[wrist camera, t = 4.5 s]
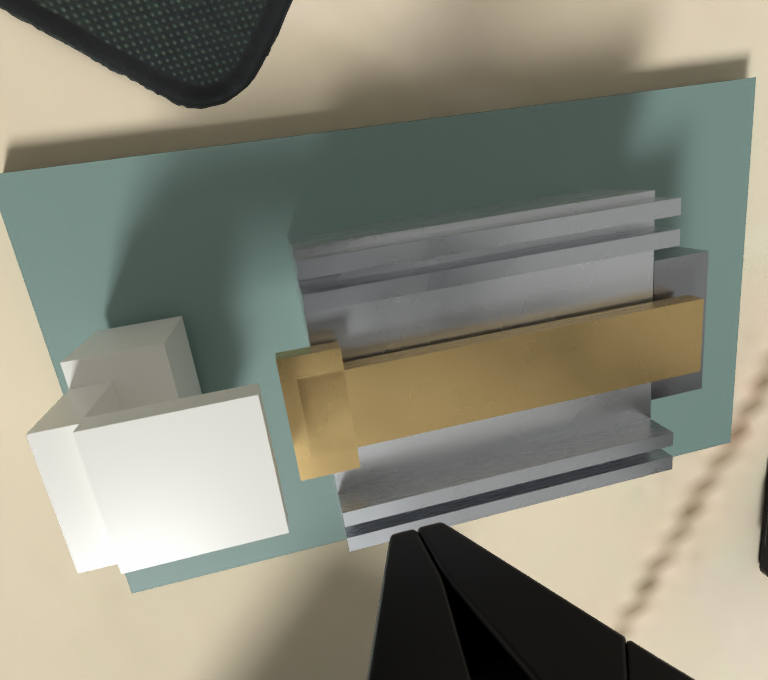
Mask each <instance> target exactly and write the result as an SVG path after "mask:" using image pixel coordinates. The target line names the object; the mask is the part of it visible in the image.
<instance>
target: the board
mask: <svg viewBox="0 0 768 680" xmlns="http://www.w3.org/2000/svg"><path fill="white" fill-rule="evenodd" d="M755 83H756V77H754V78H746V79H739V80H731V81H723V82H715V83H707V84H699V85H691V86H684V87H676V88H668V89H660V90H652V91H644V92H636V93H629V94H621V95H613V96H605V97H597V98H589V99H581V100H574V101H566V102H558V103H550V104H542V105H534V106H526V107H519V108H511V109H503V110H495V111H487V112H479V113H471V114H464V115H456V116H448V117H440V118H432V119H424V120H416V121H409V122H401V123H393V124H385V125H377V126H369V127H361V128H354V129H346V130H338V131H330V132H322V133H314V134H306V135H299V136H291V137H283V138H275V139H267V140H259V141H252V142H244V143H236V144H228V145H220V146H212V147H204V148H197V149H189V150H181V151H173V152H165V153H157V154H149V155H142V156H134V157H126V158H118V159H110V160H102V161H94V162H87V163H79V164H71V165H63V166H55V167H47V168H39V169H32V170H24V171H16V172H8V173H0V212H1V215H2V218H3V220H4V223H5V226H6V229H7V232H8V235H9V238H10V241H11V244H12V247H13V250H14V252H15V255H16V258H17V261H18V264H19V267H20V270H21V273H22V276H23V279H24V282H25V284H26V287H27V290H28V293H29V296H30V299H31V302H32V305H33V308H34V311H35V314H36V316H37V319H38V322H39V325H40V328H41V331H42V334H43V337H44V340H45V343H46V345H47V348H48V351H49V354H50V357H51V360H52V363H53V366H54V369H55V372H56V375H57V377H58V380H59V383H60V386H61V389H62V392H63V395H64V394H65V393H66V392H67V391H68V390H69V388H68V385H67V382H66V379H65V376H64V373H63V370H62V367H61V364H60V362H61V361H63V360H64V359H65V358H66V357H67V356H68V355H70V354H71V353H72V352H73V351H74V350H75V349H77V348H78V347H79V346H80V345H81V344H82V343H84V342H85V341H86V340H87V339H88V338H89V337H90V336H92V335H93V334H94V333H95V332H96V331H99V330H104V329H110V328H116V327H121V326H127V325H133V324H139V323H144V322H150V321H156V320H161V319H167V318H173V317H178V316H182V318H183V322H184V326H185V330H186V334H187V338H188V342H189V346H190V349H191V353H192V357H193V361H194V365H195V369H196V373H197V377H198V380H199V384H200V388H201V392H202V394H206V393H211V392H216V391H221V390H226V389H231V388H236V387H241V386H246V385H251V384H256V383H259V387H260V391H261V396H262V400H263V405H264V410H265V414H266V419H267V423H268V428H269V432H270V437H271V441H272V446H273V450H274V455H275V459H276V464H277V468H278V473H279V477H280V482H281V486H282V491H283V495H284V500H285V504H286V509H287V513H288V525H289V533H286V534H282V535H278V536H274V537H270V538H266V539H262V540H258V541H254V542H250V543H246V544H242V545H237V546H233V547H229V548H225V549H221V550H217V551H213V552H209V553H205V554H201V555H197V556H193V557H189V558H185V559H181V560H177V561H173V562H168V563H164V564H160V565H156V566H152V567H148V568H144V569H140V570H136V571H132V572H128V573H125V575H126V578H127V581H128V584H129V587H130V590H131V593H136V592H140V591H144V590H148V589H152V588H156V587H160V586H164V585H168V584H171V583H175V582H179V581H183V580H187V579H191V578H195V577H199V576H203V575H207V574H211V573H215V572H219V571H223V570H227V569H231V568H235V567H239V566H243V565H247V564H251V563H255V562H259V561H262V560H266V559H270V558H274V557H278V556H282V555H286V554H290V553H294V552H298V551H302V550H306V549H310V548H314V547H318V546H322V545H326V544H330V543H334V542H338V541H342V540H346V539H347V538H346V535H345V531H344V526H343V522H342V518H341V513H340V509H339V505H338V500H337V496H336V491H335V487H334V483H333V478H332V474H330V475H326V476H321V477H317V478H313V479H308V480H304V481H301V479H300V474H299V469H298V465H297V460H296V455H295V450H294V445H293V441H292V436H291V431H290V426H289V421H288V416H287V412H286V407H285V402H284V397H283V392H282V388H281V383H280V378H279V373H278V368H277V364H276V353H278V352H283V351H289V350H294V349H299V348H305V347H308V346H307V341H306V335H305V330H304V324H303V319H302V314H301V308H300V303H299V298H298V292H297V287H296V282H295V276H294V271H293V266H292V260H291V255H290V250H289V244H288V239H287V236H290V235H296V234H303V233H309V232H315V231H322V230H328V229H334V228H341V227H347V226H354V225H360V224H366V223H373V222H379V221H385V220H392V219H398V218H405V217H411V216H417V215H424V214H430V213H436V212H443V211H449V210H455V209H462V208H468V207H475V206H481V205H487V204H494V203H500V202H506V201H513V200H519V199H525V198H532V197H538V196H545V195H551V194H557V193H564V192H570V191H576V190H583V189H597V190H655V197H676V198H681V215H678V216H672V217H666V218H660V219H654V226H658V227H667V228H677V229H680V246H678V247H685V248H692V249H699V250H705V251H709V256H708V276H707V296H706V316H705V335H704V355H703V375H702V388H701V389H697V390H693V391H689V392H684V393H680V394H676V395H671V396H667V397H663V398H658V399H654V400H651V419H652V420H654V421H655V422H657V423H658V424H660V425H662V426H663V427H665V428H667V429H668V430H670V431H672V432H673V446H670V447H665V448H661V449H662V450H664V451H665V452H667V453H668V454H670V455H671V456H673V457H674V456H678V455H682V454H686V453H690V452H694V451H698V450H702V449H706V448H710V447H714V446H717V445H721V444H725V443H729V442H730V438H731V424H732V410H733V396H734V382H735V367H736V353H737V339H738V325H739V310H740V296H741V282H742V268H743V254H744V239H745V225H746V211H747V197H748V183H749V168H750V154H751V140H752V126H753V112H754V97H755Z"/></svg>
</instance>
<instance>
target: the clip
mask: <svg viewBox="0 0 768 680" xmlns="http://www.w3.org/2000/svg"><path fill="white" fill-rule="evenodd" d="M60 364H61V367H62V370H63V373H64V376H65V379H66V382H67V385H68V388H69V390H68V391H67V392H66V393H65V394H64V395H63V396H62V398H61V399H60V400H59V401H58V402H57V403H56V404H55V405H54V406H53V407H52V408H51V409H50V410H49V411H48V412H47V413H46V414H45V415H44V416H43V417H42V418H41V419H40V420H39V421H38V422H37V423H36V425H35V426H34V427H33V428H32V429H31V430H30V431H29V432H28V433H27V434H26V437H27V439H28V442H29V445H30V447H31V450H32V453H33V455H34V458H35V461H36V463H37V466H38V468H39V471H40V474H41V476H42V479H43V482H44V484H45V487H46V490H47V492H48V495H49V498H50V500H51V503H52V506H53V508H54V511H55V514H56V516H57V519H58V522H59V524H60V527H61V530H62V532H63V535H64V538H65V540H66V543H67V546H68V548H69V551H70V553H71V556H72V559H73V561H74V564H75V567H76V569H77V572H78V573H82V572H86V571H90V570H94V569H98V568H102V567H106V566H111V565H115V564H118V566H119V569H120V572H121V574H124V573H128V572H132V571H136V570H140V569H144V568H148V567H152V566H156V565H160V564H164V563H168V562H173V561H177V560H181V559H185V558H189V557H193V556H197V555H201V554H205V553H209V552H213V551H217V550H221V549H225V548H229V547H233V546H237V545H242V544H246V543H250V542H254V541H258V540H262V539H266V538H270V537H274V536H278V535H282V534H286V533H289V525H288V513H287V509H286V504H285V500H284V495H283V491H282V486H281V482H280V477H279V473H278V468H277V464H276V459H275V455H274V450H273V446H272V441H271V437H270V432H269V428H268V423H267V419H266V414H265V410H264V405H263V400H262V396H261V391H260V387H259V383H256V384H251V385H246V386H241V387H236V388H231V389H226V390H221V391H216V392H211V393H206V394H202V392H201V388H200V384H199V380H198V377H197V373H196V369H195V365H194V361H193V357H192V353H191V349H190V346H189V342H188V338H187V334H186V330H185V326H184V322H183V318H182V316H178V317H173V318H167V319H161V320H156V321H150V322H144V323H139V324H133V325H127V326H121V327H116V328H110V329H104V330H99V331H96V332H95V333H94V334H93V335H92V336H90V337H89V338H88V339H87V340H86V341H85V342H84V343H82V344H81V345H80V346H79V347H78V348H77V349H75V350H74V351H73V352H72V353H71V354H70V355H68V356H67V357H66V358H65V359H64V360H63V361H61V362H60Z"/></svg>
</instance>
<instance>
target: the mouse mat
mask: <svg viewBox="0 0 768 680" xmlns="http://www.w3.org/2000/svg"><path fill="white" fill-rule="evenodd" d="M292 1H293V0H0V8H1V9H3V10H6V11H7V12H9V13H10V14H11V15H13V16H14V17H16V18H18V19H20V20H21V21H24V22H26V23H29V24H32V25H33V26H34V27H35V28H37V29H38V30H41V31H43V32H45V33H46V34H48V35H49V36H51V37H53V38H55V39H57V40H59V41H61V42H63V43H65V44H67V45H69V46H70V47H72V48H74V49H76V50H78V51H80V52H81V53H83V54H85V55H87V56H88V57H90V58H91V59H92V60H94V61H96V62H99V63H100V64H102V65H103V66H105V67H107V68H108V69H109V70H111V71H114V72H116V73H118V74H121V75H126V76H127V77H128V78H129V79H130V80H132V81H136V82H138V83H139V84H140V85H143V86H144V87H145V88H146V89H148V90H151V91H154V92H155V93H156V94H157V95H161V96H163V97H166V98H167V99H168V100H169V101H171V102H172V103H174V104H176V105H178V106H180V105H183V106H185V107H187V108H198V109H203V108H207V107H212V106H216V105H220V104H224V103H226V102H228V101H229V100H230V99H232V98H233V97H235V96H236V95H238V94H239V93H240V92H241V91H243V90H244V89H245V88H246V87H247V86H248V85H249V84H250V83H251V82H252V80H253V79H254V78H255V76H256V75H257V73H258V71H259V70H260V68H261V66H262V64H263V62H264V60H265V58H266V57H267V56H268V55H269V52H270V50H271V47H272V45H273V43H274V42H275V40H276V38H277V36H278V34H279V32H280V29H281V26H282V24H283V22H284V19H285V17H286V14H287V12H288V10H289V7H290V5H291V3H292Z"/></svg>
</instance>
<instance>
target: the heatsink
mask: <svg viewBox="0 0 768 680" xmlns="http://www.w3.org/2000/svg"><path fill="white" fill-rule="evenodd" d="M678 215H681V198H676V197H655V190H597V189H583V190H576V191H570V192H564V193H557V194H551V195H545V196H538V197H532V198H525V199H519V200H513V201H506V202H500V203H494V204H487V205H481V206H475V207H468V208H462V209H455V210H449V211H443V212H436V213H430V214H424V215H417V216H411V217H405V218H398V219H392V220H385V221H379V222H373V223H366V224H360V225H354V226H347V227H341V228H334V229H328V230H322V231H315V232H309V233H303V234H296V235H290V236H287V239H288V244H289V250H290V255H291V260H292V266H293V271H294V276H295V282H296V287H297V292H298V298H299V303H300V308H301V314H302V319H303V324H304V330H305V335H306V341H307V346H308V347H310V346H315V345H320V344H326V343H331V342H336V341H338V343H339V346H340V348H341V354H342V360H343V362H348V361H353V360H358V359H363V358H368V357H373V356H379V355H384V354H389V353H394V352H399V351H404V350H409V349H414V348H419V347H424V346H429V345H434V344H440V343H445V342H450V341H455V340H460V339H465V338H470V337H475V336H480V335H485V334H490V333H495V332H501V331H506V330H511V329H516V328H521V327H526V326H531V325H536V324H541V323H546V322H551V321H556V320H562V319H567V318H572V317H577V316H582V315H587V314H592V313H597V312H602V311H607V310H612V309H618V308H623V307H628V306H633V305H638V304H643V303H648V302H653V301H658V300H663V299H668V298H673V297H679V296H684V295H691V296H695V297H699V298H703V299H704V305H703V325H702V345H701V366H700V371H699V372H694V373H690V374H685V375H681V376H677V377H672V378H668V379H663V380H659V381H654V382H650V383H645V384H641V385H636V386H632V387H627V388H623V389H618V390H614V391H609V392H605V393H600V394H596V395H591V396H587V397H582V398H578V399H573V400H569V401H564V402H560V403H555V404H551V405H546V406H542V407H537V408H533V409H528V410H524V411H519V412H515V413H510V414H506V415H502V416H497V417H493V418H488V419H484V420H479V421H475V422H470V423H466V424H461V425H457V426H452V427H448V428H443V429H439V430H434V431H430V432H425V433H421V434H416V435H412V436H407V437H403V438H398V439H394V440H389V441H385V442H380V443H376V444H371V445H367V446H362V447H358V448H357V449H358V455H359V461H360V467H361V468H356V469H352V470H347V471H343V472H339V473H334V474H332V478H333V483H334V487H335V491H336V496H337V500H338V505H339V509H340V513H341V518H342V522H343V526H344V531H345V535H346V538H347V543H348V547H349V552H351V551H355V550H358V549H362V548H366V547H370V546H374V545H378V544H382V543H386V542H389V540H390V537H391V535H393V534H395V533H399V532H403V531H407V530H411V529H413V530H416V531H418V529H419V528H420V527H423V526H426V525H430V524H434V523H438V522H441V523H444V524H446V525H448V526H452V525H456V524H460V523H464V522H468V521H471V520H475V519H479V518H483V517H487V516H491V515H495V514H499V513H503V512H506V511H510V510H514V509H518V508H522V507H526V506H530V505H534V504H538V503H542V502H545V501H549V500H553V499H557V498H561V497H565V496H569V495H573V494H577V493H580V492H584V491H588V490H592V489H596V488H600V487H604V486H608V485H612V484H615V483H619V482H623V481H627V480H631V479H635V478H639V477H643V476H647V475H651V474H654V473H658V472H662V471H666V470H670V469H672V459H673V456H671V455H670V454H668V453H667V452H665V451H664V450H662V449H661V448H665V447H670V446H673V432H672V431H670V430H668V429H667V428H665V427H663V426H662V425H660V424H658V423H657V422H655V421H654V420H652V419H651V400H654V399H658V398H663V397H667V396H671V395H676V394H680V393H684V392H689V391H693V390H697V389H701V388H702V375H703V355H704V335H705V316H706V296H707V276H708V256H709V251H705V250H699V249H692V248H685V247H678V246H680V229H677V228H667V227H658V226H654V219H660V218H666V217H672V216H678Z"/></svg>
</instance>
